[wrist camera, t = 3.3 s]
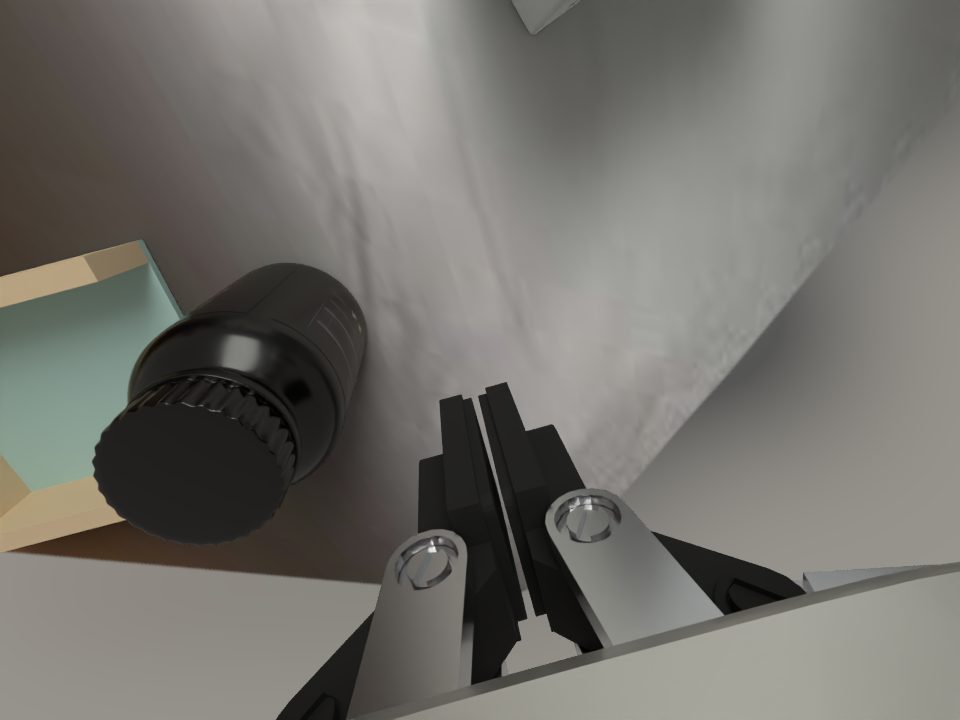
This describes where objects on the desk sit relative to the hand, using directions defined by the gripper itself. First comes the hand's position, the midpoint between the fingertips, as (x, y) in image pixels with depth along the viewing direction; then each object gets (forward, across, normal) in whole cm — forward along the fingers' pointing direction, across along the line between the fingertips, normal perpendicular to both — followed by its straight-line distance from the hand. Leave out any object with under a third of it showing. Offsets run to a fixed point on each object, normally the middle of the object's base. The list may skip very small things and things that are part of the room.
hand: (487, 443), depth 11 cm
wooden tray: (+13, +19, -1) cm, 24 cm away
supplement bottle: (+13, +8, -1) cm, 16 cm away
